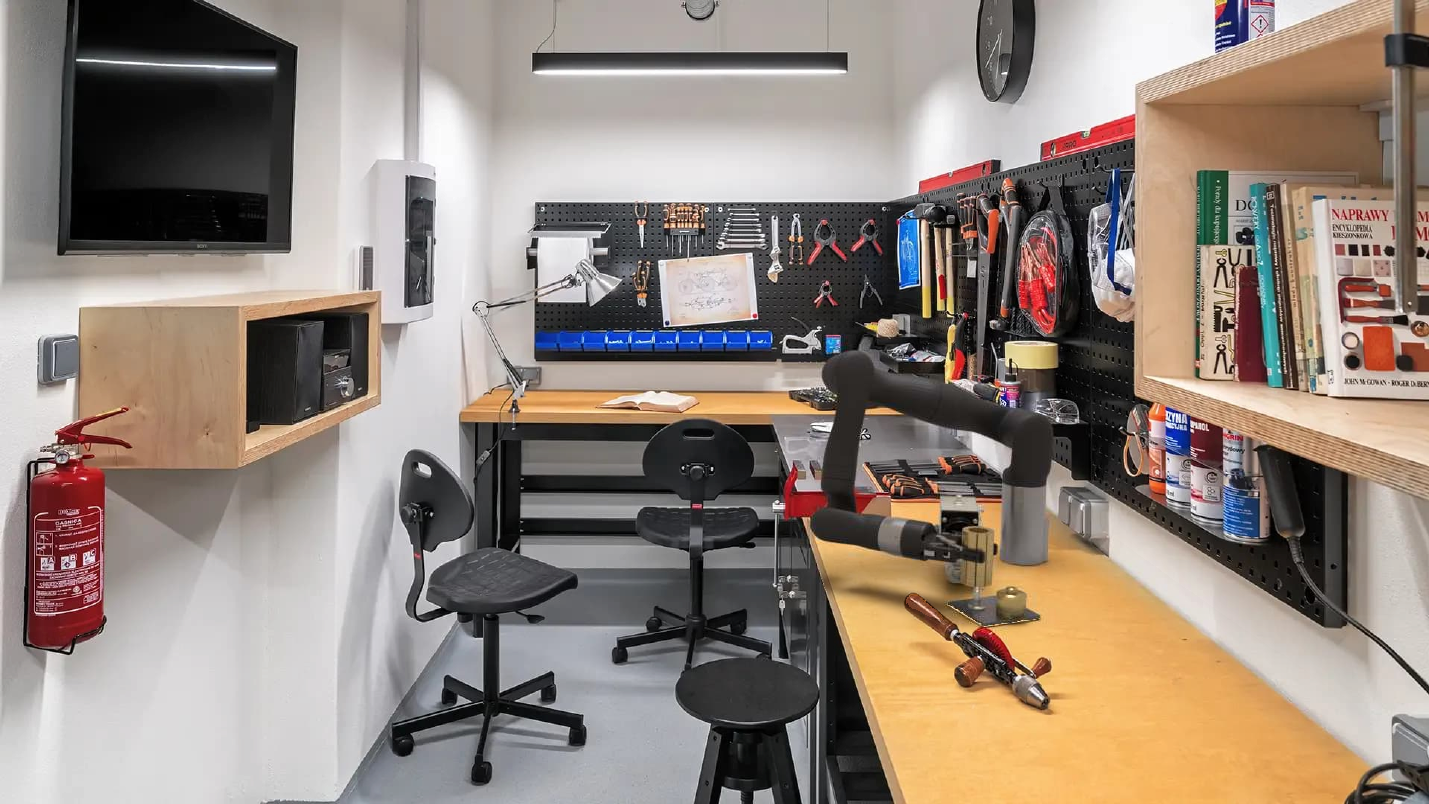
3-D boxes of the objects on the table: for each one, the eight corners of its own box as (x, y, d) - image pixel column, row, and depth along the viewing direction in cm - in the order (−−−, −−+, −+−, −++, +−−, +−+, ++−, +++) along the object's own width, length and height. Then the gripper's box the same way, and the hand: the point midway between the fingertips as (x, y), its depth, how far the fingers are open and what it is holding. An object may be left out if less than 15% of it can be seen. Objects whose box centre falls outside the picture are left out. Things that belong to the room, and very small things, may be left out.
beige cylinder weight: (1014, 608, 176) (1015, 582, 175) (1031, 617, 171) (1032, 591, 170) (990, 611, 174) (991, 585, 173) (1007, 621, 169) (1008, 594, 168)
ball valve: (984, 594, 185) (986, 506, 183) (939, 592, 187) (941, 505, 185) (978, 567, 203) (981, 486, 201) (938, 564, 205) (940, 485, 202)
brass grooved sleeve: (967, 575, 180) (969, 524, 178) (996, 581, 176) (999, 529, 175) (955, 583, 175) (957, 530, 174) (985, 589, 172) (987, 536, 170)
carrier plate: (1001, 598, 183) (1002, 573, 182) (1040, 619, 172) (1041, 593, 171) (947, 605, 180) (948, 580, 179) (983, 627, 168) (984, 600, 168)
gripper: (890, 527, 177) (976, 542, 167) (923, 512, 189) (1006, 525, 178) (889, 565, 178) (975, 583, 168) (922, 548, 190) (1004, 564, 179)
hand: (990, 553), depth 173 cm, fingers closed on brass grooved sleeve, 5 cm apart
